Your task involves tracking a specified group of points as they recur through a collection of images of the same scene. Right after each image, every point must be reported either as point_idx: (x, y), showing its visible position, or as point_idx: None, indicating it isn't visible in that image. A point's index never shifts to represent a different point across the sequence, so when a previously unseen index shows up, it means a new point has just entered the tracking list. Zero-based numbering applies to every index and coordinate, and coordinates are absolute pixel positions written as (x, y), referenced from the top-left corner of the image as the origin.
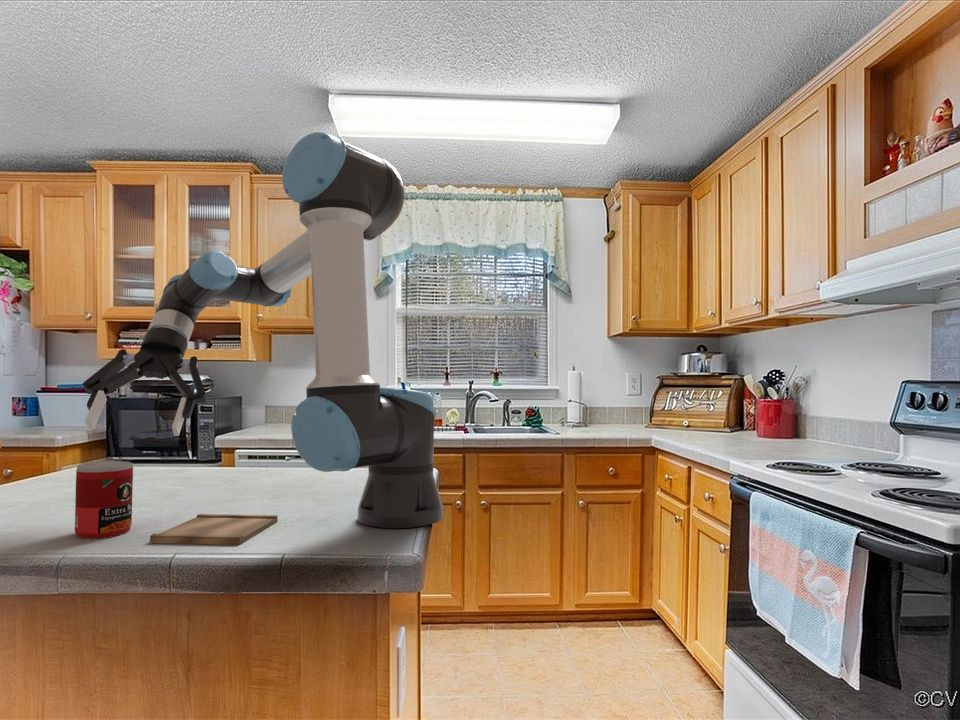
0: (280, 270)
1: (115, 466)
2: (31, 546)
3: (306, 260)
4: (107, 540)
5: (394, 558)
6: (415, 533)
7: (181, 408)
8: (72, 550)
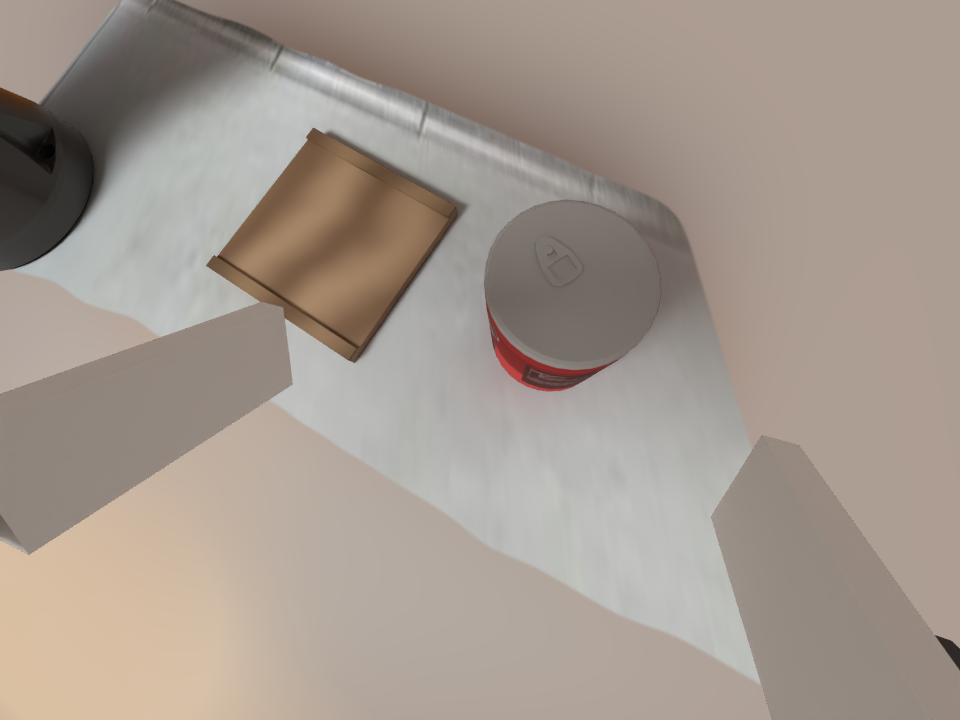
0: None
1: (538, 277)
2: (664, 286)
3: None
4: None
5: None
6: (55, 90)
7: (111, 362)
8: None
